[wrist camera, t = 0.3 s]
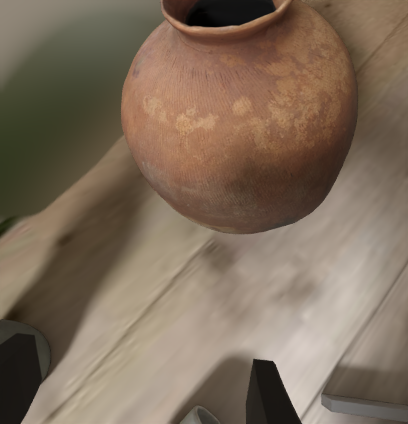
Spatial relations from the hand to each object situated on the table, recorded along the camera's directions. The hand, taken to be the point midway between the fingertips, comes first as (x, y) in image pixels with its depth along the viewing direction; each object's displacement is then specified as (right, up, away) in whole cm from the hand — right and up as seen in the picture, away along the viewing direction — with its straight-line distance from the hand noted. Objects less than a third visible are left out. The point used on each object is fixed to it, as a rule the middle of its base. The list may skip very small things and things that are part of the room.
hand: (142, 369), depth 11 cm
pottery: (+6, +11, +35) cm, 37 cm away
